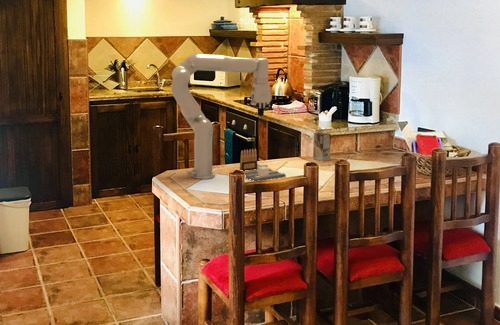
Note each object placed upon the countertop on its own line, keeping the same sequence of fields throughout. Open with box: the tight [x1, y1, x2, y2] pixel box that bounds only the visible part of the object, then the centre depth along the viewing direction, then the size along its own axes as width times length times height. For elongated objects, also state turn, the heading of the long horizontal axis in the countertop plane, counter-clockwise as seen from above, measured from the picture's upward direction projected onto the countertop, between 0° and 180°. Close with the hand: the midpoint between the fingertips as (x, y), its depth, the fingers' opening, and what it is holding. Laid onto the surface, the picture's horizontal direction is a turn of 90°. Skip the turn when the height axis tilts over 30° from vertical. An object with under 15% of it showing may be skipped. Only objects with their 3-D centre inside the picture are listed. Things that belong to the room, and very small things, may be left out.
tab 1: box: [256, 163, 269, 172], centre depth 356 cm, size 4×4×4 cm
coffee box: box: [312, 131, 332, 162], centre depth 395 cm, size 9×6×16 cm
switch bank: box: [244, 168, 287, 182], centre depth 353 cm, size 20×14×2 cm
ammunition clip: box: [239, 147, 258, 172], centre depth 367 cm, size 11×2×12 cm, turn 123°
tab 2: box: [258, 167, 270, 177], centre depth 349 cm, size 4×4×4 cm
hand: (260, 115), depth 354 cm, fingers closed
